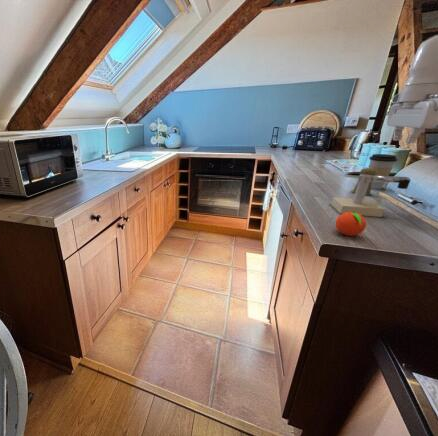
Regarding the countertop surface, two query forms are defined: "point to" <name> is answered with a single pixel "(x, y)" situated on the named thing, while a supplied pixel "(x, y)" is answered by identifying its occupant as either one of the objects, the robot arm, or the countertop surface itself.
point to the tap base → (358, 203)
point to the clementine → (350, 223)
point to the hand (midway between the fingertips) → (403, 141)
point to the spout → (386, 180)
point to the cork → (373, 173)
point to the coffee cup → (381, 167)
